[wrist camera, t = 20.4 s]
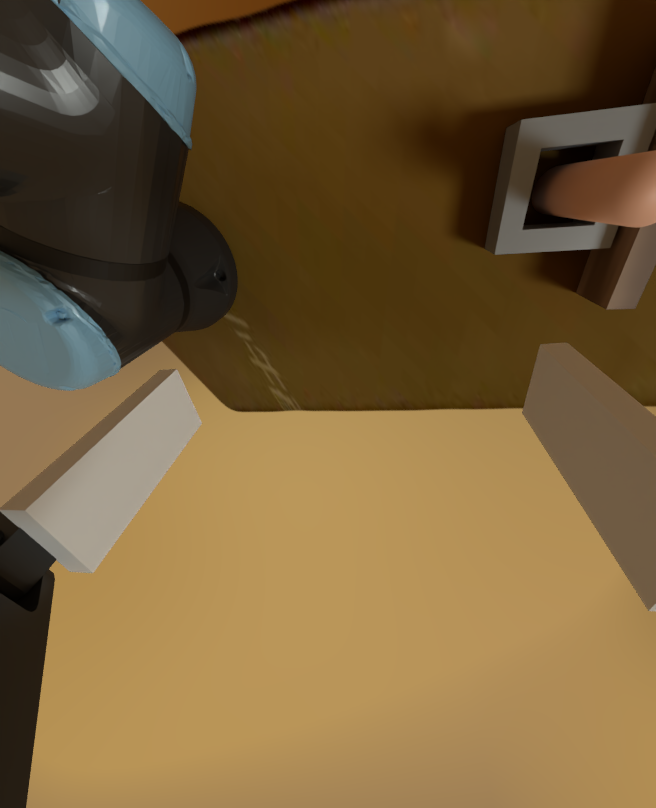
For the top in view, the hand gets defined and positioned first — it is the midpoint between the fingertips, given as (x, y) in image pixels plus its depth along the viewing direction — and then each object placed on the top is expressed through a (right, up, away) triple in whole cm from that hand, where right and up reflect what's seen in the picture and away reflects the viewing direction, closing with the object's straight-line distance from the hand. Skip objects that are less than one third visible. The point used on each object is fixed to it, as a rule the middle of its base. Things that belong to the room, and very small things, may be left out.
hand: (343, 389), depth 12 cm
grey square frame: (+21, +21, +19) cm, 35 cm away
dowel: (+22, +20, +19) cm, 35 cm away
